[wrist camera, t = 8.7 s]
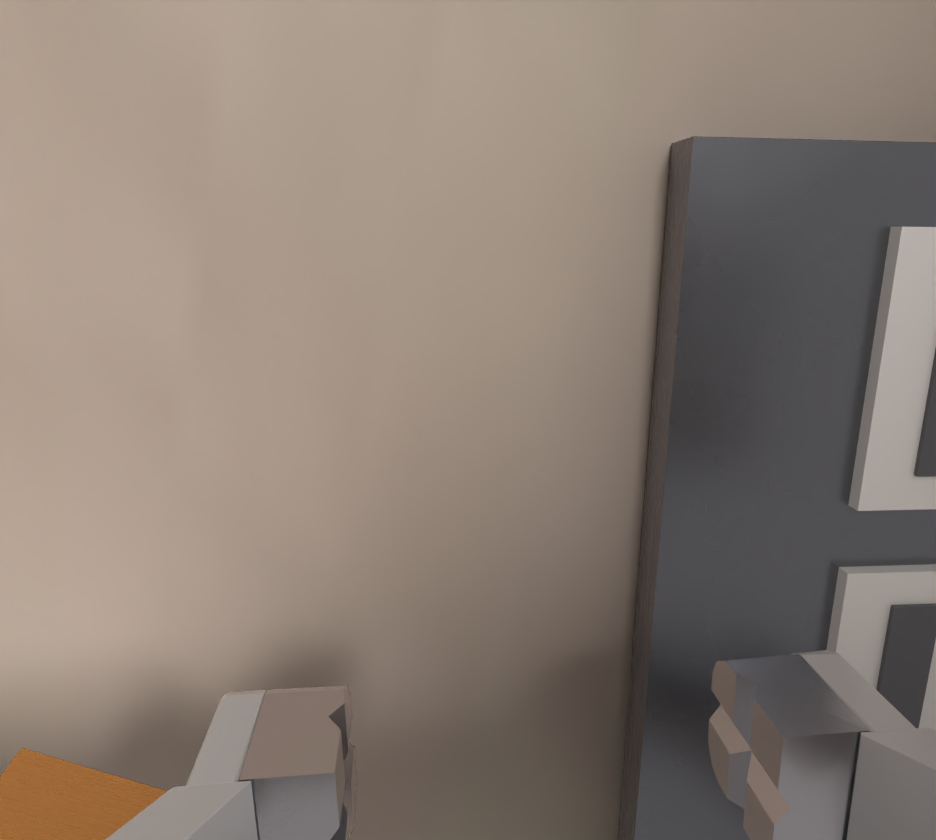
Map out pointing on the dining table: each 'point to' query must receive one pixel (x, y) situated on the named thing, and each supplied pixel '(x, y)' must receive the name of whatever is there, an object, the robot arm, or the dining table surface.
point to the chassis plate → (756, 437)
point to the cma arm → (66, 800)
